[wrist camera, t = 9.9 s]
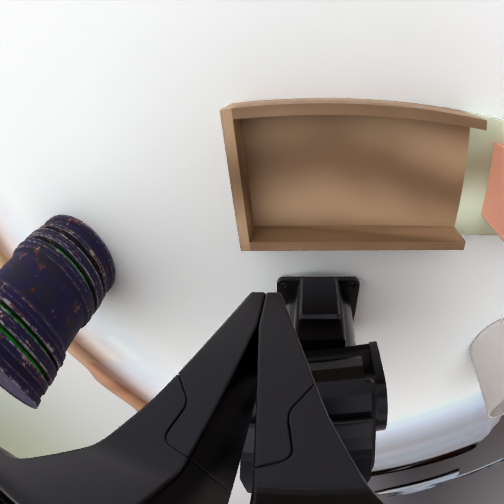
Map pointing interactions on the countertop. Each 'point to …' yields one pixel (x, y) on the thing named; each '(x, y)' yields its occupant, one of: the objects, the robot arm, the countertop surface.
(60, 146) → the countertop surface
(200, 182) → the countertop surface
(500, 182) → the block
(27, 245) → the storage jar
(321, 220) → the wooden tray
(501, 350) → the cup
